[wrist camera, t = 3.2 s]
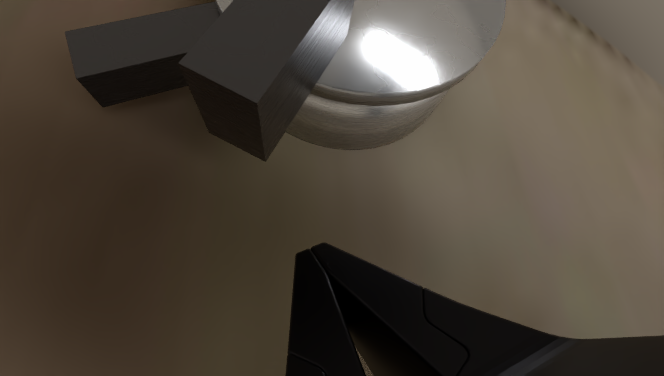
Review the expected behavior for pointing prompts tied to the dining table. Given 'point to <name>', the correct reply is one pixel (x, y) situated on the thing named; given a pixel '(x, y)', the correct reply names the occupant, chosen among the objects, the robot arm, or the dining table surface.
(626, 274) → the dining table surface
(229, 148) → the dining table surface
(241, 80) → the lid
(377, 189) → the dining table surface
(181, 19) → the pot
